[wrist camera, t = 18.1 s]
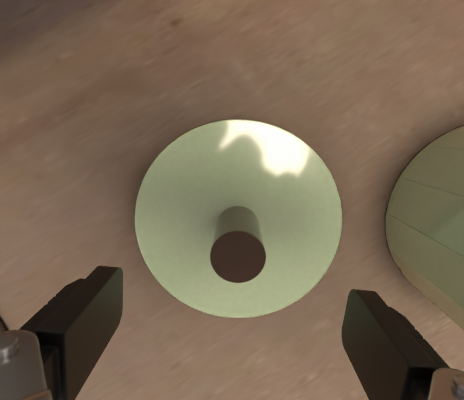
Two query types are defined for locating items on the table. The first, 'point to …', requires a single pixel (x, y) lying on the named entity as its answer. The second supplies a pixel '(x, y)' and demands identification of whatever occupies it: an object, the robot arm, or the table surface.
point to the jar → (432, 223)
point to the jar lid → (238, 218)
